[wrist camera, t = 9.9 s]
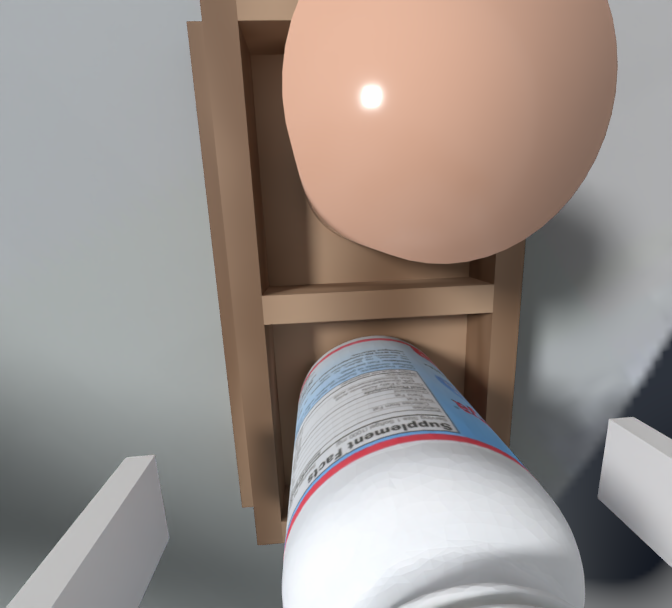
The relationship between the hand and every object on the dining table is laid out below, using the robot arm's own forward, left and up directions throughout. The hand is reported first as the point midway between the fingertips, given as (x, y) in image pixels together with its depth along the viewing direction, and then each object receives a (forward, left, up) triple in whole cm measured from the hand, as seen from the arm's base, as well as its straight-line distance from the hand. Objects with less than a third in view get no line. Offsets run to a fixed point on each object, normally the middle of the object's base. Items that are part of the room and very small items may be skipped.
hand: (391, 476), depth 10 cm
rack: (0, +4, -6) cm, 7 cm away
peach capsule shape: (0, +9, -5) cm, 10 cm away
